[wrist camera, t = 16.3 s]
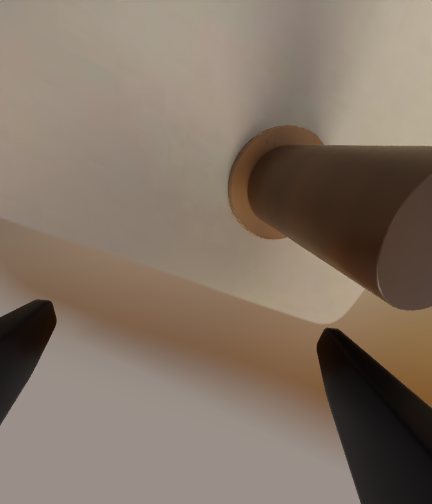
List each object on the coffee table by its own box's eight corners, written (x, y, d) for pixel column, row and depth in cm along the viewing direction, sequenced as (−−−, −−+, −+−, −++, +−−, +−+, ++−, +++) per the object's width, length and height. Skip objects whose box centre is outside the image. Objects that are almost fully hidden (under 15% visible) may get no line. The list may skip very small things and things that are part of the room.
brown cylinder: (254, 234, 19) (373, 332, 9) (239, 158, 16) (381, 181, 6) (320, 211, 19) (496, 279, 10) (315, 134, 17) (546, 122, 7)
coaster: (305, 242, 21) (309, 245, 20) (217, 229, 18) (219, 232, 18) (342, 142, 18) (348, 142, 18) (245, 111, 16) (248, 109, 15)
